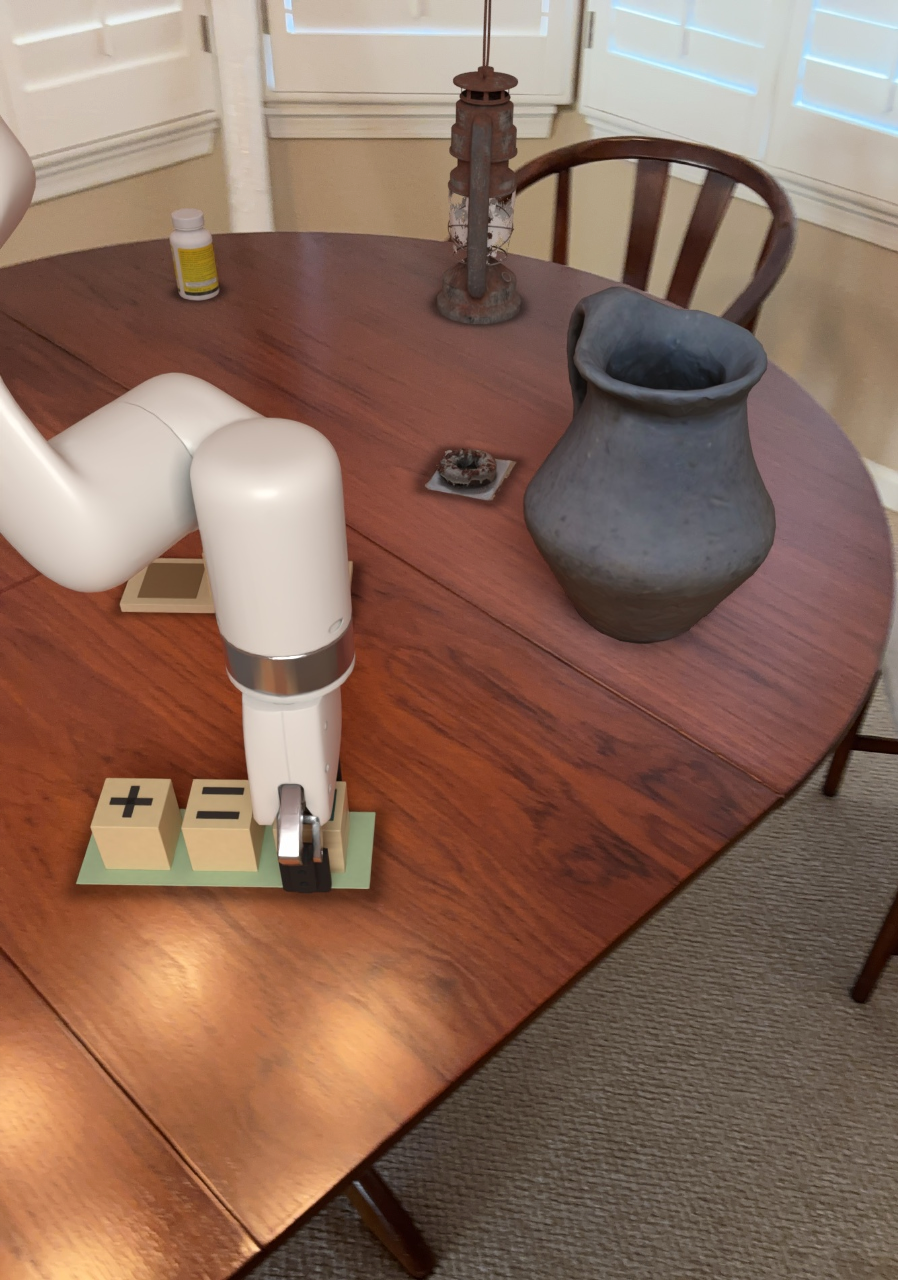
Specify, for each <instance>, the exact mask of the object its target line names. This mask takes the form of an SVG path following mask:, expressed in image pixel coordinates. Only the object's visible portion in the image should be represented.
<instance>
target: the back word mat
mask: <svg viewBox="0 0 898 1280" xmlns="http://www.w3.org/2000/svg"><path fill="white" fill-rule="evenodd" d="M201 557H202V558H177V557H176V558H175V557H173V558H171V557H169V558H168V557H166V558H165V557H158V558H157V559H156V560H154V561H153V562H152V563H150V564H149V565H148V566H147V567H145V568H144V569H143V570H141V571H140V572H139V573H138V574H136V575H135V576H133V577H132V578H131V579H129V580H128V581H126V582H127V583H126V586H125V588H124V591H123V593H122V596H121V599H120V601H119V607H120V611H121V612H122V613H126V612H127V613H178V614H179V613H186V614H187V613H188V614H189V613H190V614H215V609H214V604H213V599H212V594H211V588H210V583H209V578H208V573H207V568H206V562H205V557H204V552H203V551H202V552H201ZM348 564H349V577H350V591H351V589H352V581H353V574H354V563H353V561H352V560H348Z"/></svg>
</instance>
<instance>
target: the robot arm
mask: <svg viewBox="0 0 898 1280" xmlns="http://www.w3.org/2000/svg"><path fill="white" fill-rule="evenodd" d="M36 175H37V174H36V169H35V167H34V163H33V160H32V158H31V156H30V155H29V153H28V151H27V149H26V148H25V147H24V145H23V144H22V143H21V141H20V140H19V139H18V137H17V136H16V135H15V133H14V132H13V130H12V129H11V128H10V126H9V125H8V124H7V122H6V121H5V119H4V118H3V116H1V114H0V250H1V249H2V248H3V246H4V245H5V244H6V243H7V242H8V240H9V239H10V237H11V236H12V235H13V234H14V232H15V231H16V229H17V228H18V227H19V225H20V224H21V222H22V220H23V219H24V217H25V215H26V213H27V211H28V209H30V206H31V204H32V201H33V196H34V194H35V191H36V187H37V186H36V185H37V177H36ZM196 531H199V536H200V540H201V546H202V552H204V557H205V562H206V568H207V573H208V578H209V583H210V588H211V594H212V599H213V604H214V609H215V613H214V615H215V618H216V624H217V629H218V635H219V639H220V645H221V650H222V655H223V660H224V665H225V670H226V675H227V677H228V679H229V680H230V682H231V683H232V685H233V686H234V687H235V688H236V689H237V690H238V691H239V692H241V715H242V733H243V747H244V754H245V764H246V772H247V780H249V788H250V796H251V803H252V811H253V817H254V819H255V820H256V822H257V823H258V824H259V825H272V824H273V822H274V820H275V818H276V820H277V857H278V862H279V868H280V874H281V879H282V885H283V887H282V889H283V890H284V892H288V893H298V894H313V893H329V892H331V891H332V888H331V887H332V879H331V871H330V862H329V854H328V848H324V847H323V825H324V824H325V823H326V822H328V820H329V819H330V818H331V813H332V807H333V800H334V792H335V785H336V781H343V775H342V766H341V754H340V752H341V741H342V723H343V722H342V719H343V718H342V717H343V714H342V713H343V712H342V711H343V710H342V709H343V708H342V707H343V706H342V691H341V689H342V688H341V686H342V685H343V684H344V683H345V682H346V681H347V680H348V679H349V677H350V676H351V675H352V673H353V670H354V668H355V666H356V665H355V664H356V647H355V635H354V622H353V606H352V596H351V595H352V592H351V590H350V577H349V564H348V561H349V552H348V551H349V549H348V540H347V538H348V537H347V524H346V511H345V497H344V484H343V475H342V468H341V462H340V459H339V456H338V453H337V451H336V449H335V447H334V445H333V444H332V442H331V441H330V440H329V439H328V438H327V437H326V436H325V434H323V433H322V432H321V431H319V430H317V429H315V428H314V427H312V426H311V425H308V424H306V423H303V422H301V421H297V420H293V419H288V418H281V417H268V416H267V417H266V416H265V415H263V414H261V413H259V412H257V411H256V410H254V409H252V408H251V407H250V406H248V405H245V404H244V403H243V402H241V401H239V400H238V399H237V398H235V397H233V396H231V395H230V394H229V393H226V391H224V390H222V389H220V388H218V387H217V386H216V385H214V384H212V383H210V382H209V381H206V380H205V379H203V378H200V377H198V376H195V375H191V374H187V373H184V372H167V373H161V374H159V375H156V376H152V377H151V378H148V379H147V380H145V381H143V382H141V383H140V384H138V385H136V386H135V387H133V388H131V389H130V390H128V391H127V392H125V393H123V394H121V395H120V396H119V397H117V398H115V399H113V400H112V401H111V402H109V403H107V404H105V405H104V406H102V407H100V408H98V409H97V410H95V411H93V412H92V413H90V414H89V415H87V416H85V417H84V418H82V419H80V420H79V421H77V422H75V423H74V424H72V425H71V426H69V427H68V428H66V429H64V430H62V431H61V432H59V433H57V434H56V435H54V436H52V437H51V438H49V439H48V440H47V439H46V438H45V436H43V434H42V433H41V432H40V431H39V430H38V428H37V427H36V426H35V424H34V423H33V422H32V420H30V418H29V416H28V415H27V414H26V413H25V411H24V410H23V409H22V408H21V406H20V405H19V404H18V402H17V401H16V399H15V398H14V396H13V394H12V393H11V392H10V390H9V388H8V387H7V385H6V384H5V382H4V380H3V377H2V376H1V375H0V535H2V537H3V538H4V539H5V540H6V541H7V542H8V543H9V544H10V545H11V547H13V548H14V549H15V550H16V551H17V553H18V554H20V556H21V557H22V558H23V559H24V560H25V561H26V562H28V563H29V564H30V565H31V566H32V567H33V568H35V570H36V571H38V572H39V573H40V574H42V575H43V576H44V577H46V578H47V579H49V580H51V581H53V582H54V583H56V584H58V585H59V586H61V587H63V588H66V589H69V590H71V591H74V592H78V593H84V594H85V593H87V594H88V593H92V594H93V593H102V592H107V591H109V590H112V589H115V588H117V587H119V586H121V585H123V584H125V583H126V582H128V580H129V579H131V578H132V577H133V576H135V575H136V574H138V573H139V572H140V571H141V570H143V569H144V568H145V567H147V566H148V565H149V564H150V563H152V562H153V561H154V560H156V559H157V558H160V557H161V556H162V555H163V554H164V553H166V552H167V551H168V550H170V549H171V548H173V546H175V545H176V544H177V543H179V542H180V541H181V540H182V539H184V538H185V537H186V536H187V535H189V534H191V533H194V532H196ZM304 802H306V807H307V808H308V810H309V811H303V803H304ZM303 824H312V842H302V830H303Z"/></svg>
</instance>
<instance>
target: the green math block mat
mask: <svg viewBox="0 0 898 1280" xmlns="http://www.w3.org/2000/svg"><path fill="white" fill-rule="evenodd" d="M349 818H350V830H349V840H348V849H347V859H346V869H345V873H331V879H332V887H331V889H359V890H360V889H362V890H364V889H366V890H368V889H370V887H371V886H370V885H371V875H372V874H371V872H372V861H373V859H372V858H373V849H374V837H375V824H376V812H375V811H349ZM273 824H274V822H273ZM273 824H272V825H259V824H258V823H257V822H256V820H255V819H254V817H253V811H252V803H251V796H250V788H249V780H248V779H221V778H220V779H217V778H215V779H214V778H212V779H211V778H193V779H192V783H191V787H190V791H189V795H188V799H187V803H186V808H179V804H178V801H177V797H176V793H175V789H174V785H173V782H172V779H171V778H149V777H148V778H145V777H144V778H143V777H141V778H140V777H139V778H137V777H106V778H105V779H104V783H103V786H102V790H101V793H100V796H99V799H98V801H97V805H96V808H95V810H94V813H93V816H92V820H91V823H90V830H91V835H90V839H89V842H88V845H87V848H86V851H85V854H84V858H83V860H82V863H81V867H80V869H79V873H78V876H77V879H76V882H75V884H76V885H107V886H108V885H111V886H112V885H113V886H115V885H116V886H118V885H119V886H168V887H169V886H170V887H171V886H173V887H176V886H177V887H178V886H179V887H236V888H238V887H239V888H283V885H282V879H281V874H280V869H279V863H278V858H277V852H276V846H275V841H274V835H273Z"/></svg>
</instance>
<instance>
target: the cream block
mask: <svg viewBox="0 0 898 1280" xmlns="http://www.w3.org/2000/svg"><path fill="white" fill-rule="evenodd" d="M347 786H348V785H347V781H345V780H344V781H343V780H342V781H336V785H335V792H334V800H333V807H332V813H331V818H330V819H329V820H328V822H326V823H325V824H324V825H323V847H324V848H328V854H329V862H330V871H331V873H345V869H346V859H347V849H348V840H349V830H350V818H349V812H350V811H349V798H348V788H347ZM303 811H309V810H308V808H307V807H306V802H304V803H303ZM273 835H274V841H275V846H276V852H277V820H276V818H275V820H274V824H273ZM302 842H312V824H303V830H302ZM277 858H278V857H277ZM278 863H279V862H278ZM279 869H280V868H279Z"/></svg>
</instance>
